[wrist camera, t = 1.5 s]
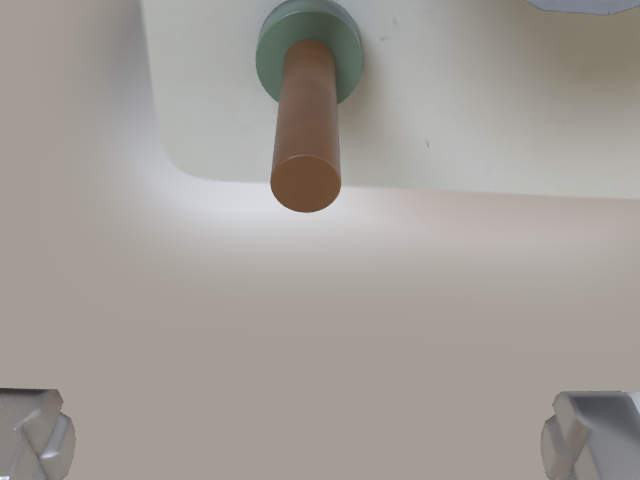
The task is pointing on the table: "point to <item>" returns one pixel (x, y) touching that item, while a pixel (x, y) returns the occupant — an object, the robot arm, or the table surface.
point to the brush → (308, 96)
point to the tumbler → (585, 6)
